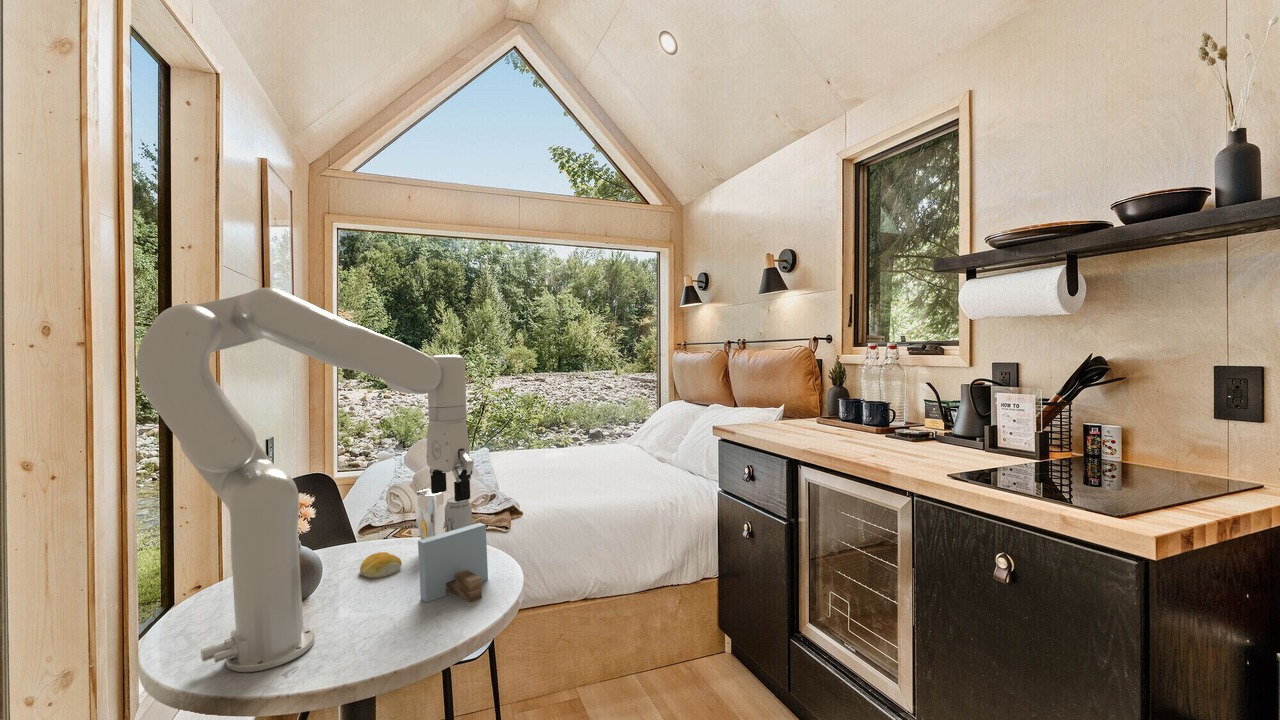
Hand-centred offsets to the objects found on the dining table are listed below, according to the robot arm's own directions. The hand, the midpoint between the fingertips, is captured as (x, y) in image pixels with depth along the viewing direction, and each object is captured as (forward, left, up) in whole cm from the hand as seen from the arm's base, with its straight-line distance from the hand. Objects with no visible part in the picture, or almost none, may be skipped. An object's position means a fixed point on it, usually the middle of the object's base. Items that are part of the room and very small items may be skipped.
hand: (450, 496), depth 119 cm
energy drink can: (+8, +12, -20) cm, 25 cm away
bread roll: (-6, +22, -20) cm, 31 cm away
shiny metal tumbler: (+7, +24, -20) cm, 32 cm away
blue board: (0, 0, -20) cm, 20 cm away
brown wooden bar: (0, 0, -20) cm, 20 cm away
